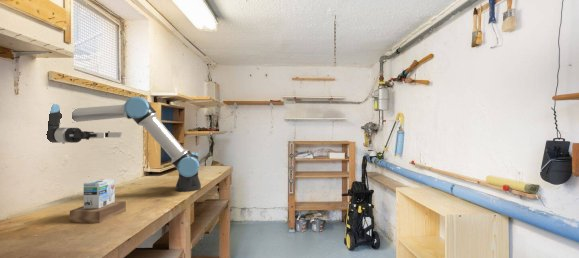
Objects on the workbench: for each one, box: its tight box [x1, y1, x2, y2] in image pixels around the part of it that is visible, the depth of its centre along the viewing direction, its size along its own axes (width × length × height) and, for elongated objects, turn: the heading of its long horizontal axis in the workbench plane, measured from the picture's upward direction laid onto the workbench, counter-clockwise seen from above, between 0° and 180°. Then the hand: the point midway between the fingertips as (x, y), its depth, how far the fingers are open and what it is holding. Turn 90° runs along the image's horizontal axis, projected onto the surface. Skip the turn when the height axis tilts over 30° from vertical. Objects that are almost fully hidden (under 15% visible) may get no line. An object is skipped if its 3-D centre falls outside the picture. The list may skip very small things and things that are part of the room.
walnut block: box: [69, 200, 127, 224], centre depth 114 cm, size 13×15×5 cm
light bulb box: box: [83, 178, 116, 209], centre depth 114 cm, size 11×7×11 cm, turn 1°
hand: (113, 135), depth 132 cm, fingers open, 13 cm apart
